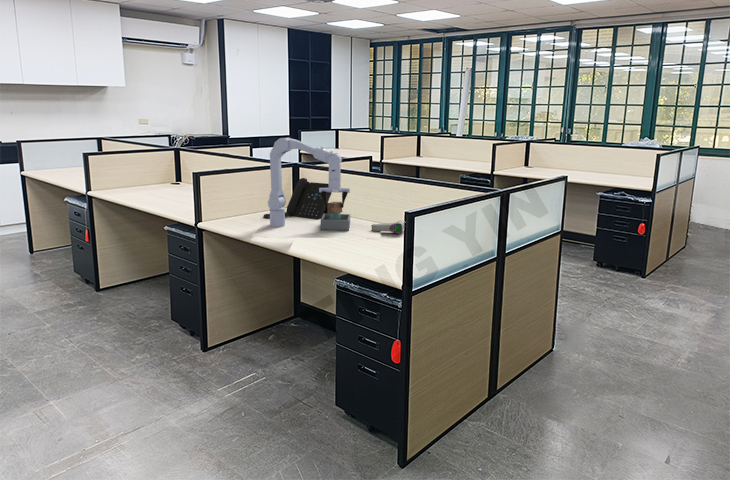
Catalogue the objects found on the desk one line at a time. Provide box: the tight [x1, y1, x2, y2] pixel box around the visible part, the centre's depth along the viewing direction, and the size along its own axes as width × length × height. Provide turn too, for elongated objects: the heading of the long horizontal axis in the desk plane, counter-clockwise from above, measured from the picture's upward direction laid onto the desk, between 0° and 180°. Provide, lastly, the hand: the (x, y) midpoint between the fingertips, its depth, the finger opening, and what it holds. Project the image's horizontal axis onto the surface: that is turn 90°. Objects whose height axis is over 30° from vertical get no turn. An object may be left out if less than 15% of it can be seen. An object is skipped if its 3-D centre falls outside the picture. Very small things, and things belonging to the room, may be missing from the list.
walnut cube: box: [327, 201, 343, 214], centre depth 264 cm, size 5×5×5 cm
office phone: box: [263, 177, 333, 220], centre depth 296 cm, size 29×28×20 cm
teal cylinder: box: [330, 213, 341, 220], centre depth 271 cm, size 5×5×7 cm
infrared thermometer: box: [371, 220, 405, 234], centre depth 264 cm, size 5×12×15 cm
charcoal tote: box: [320, 213, 351, 232], centre depth 269 cm, size 18×14×5 cm
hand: (334, 207), depth 263 cm, fingers closed on walnut cube, 7 cm apart
